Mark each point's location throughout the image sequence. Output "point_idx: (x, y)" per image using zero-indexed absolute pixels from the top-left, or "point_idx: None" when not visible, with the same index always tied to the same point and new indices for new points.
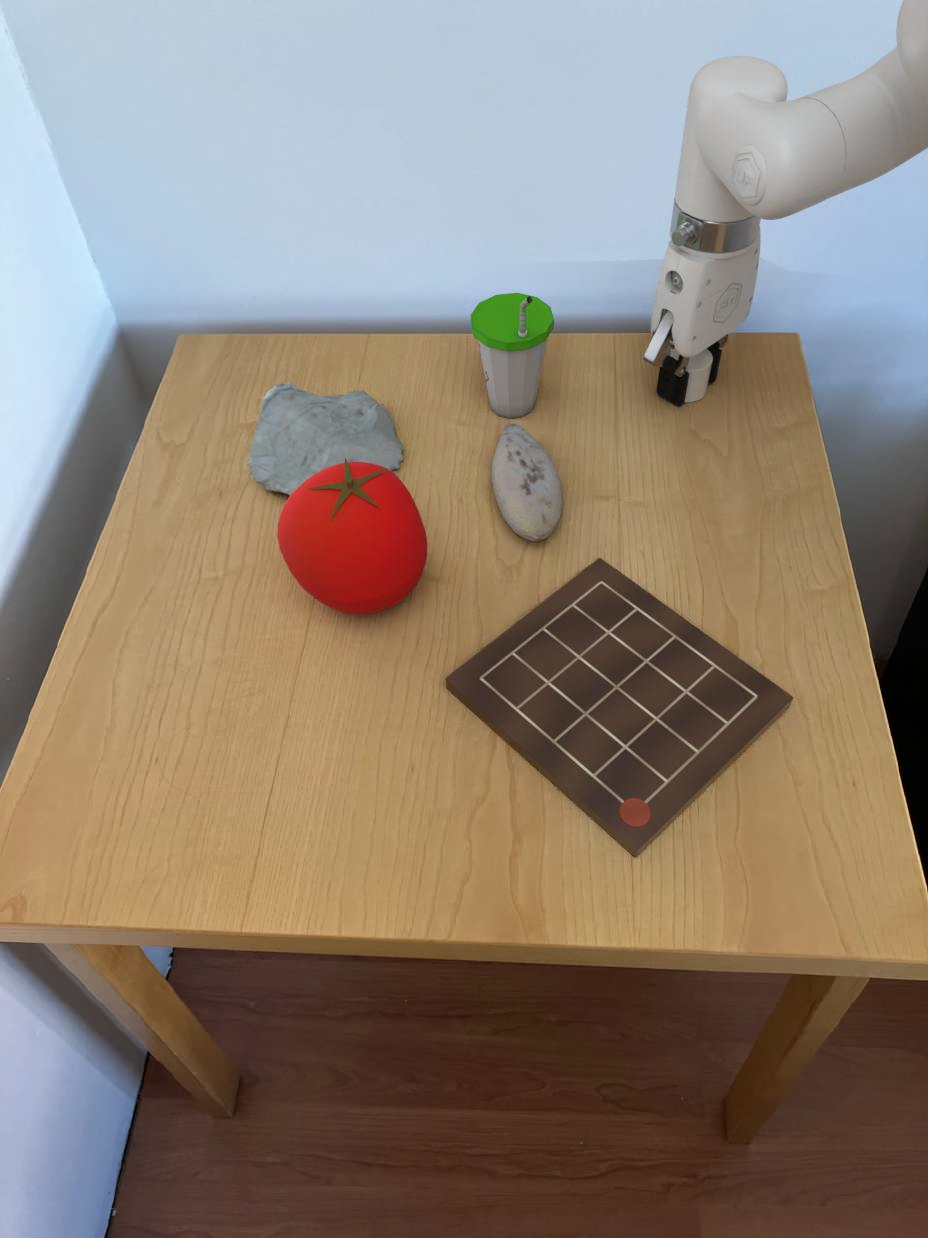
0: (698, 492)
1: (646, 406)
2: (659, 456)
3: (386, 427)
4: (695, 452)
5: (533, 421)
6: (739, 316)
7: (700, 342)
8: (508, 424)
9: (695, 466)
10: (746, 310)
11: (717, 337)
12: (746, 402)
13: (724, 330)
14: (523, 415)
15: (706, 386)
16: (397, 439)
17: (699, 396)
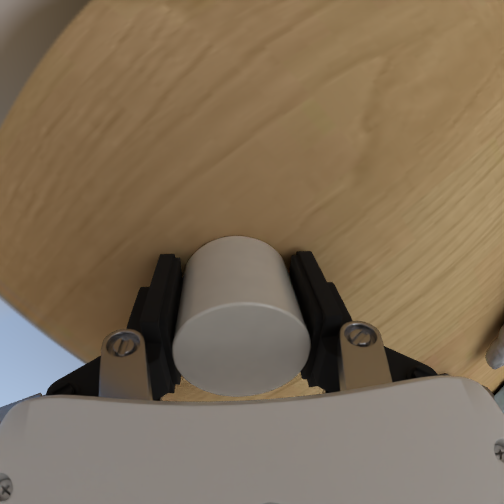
0: (488, 65)
1: (344, 298)
2: (457, 182)
3: (497, 403)
4: (414, 124)
5: (448, 362)
6: (85, 455)
7: (454, 428)
8: (496, 368)
9: (446, 102)
10: (29, 446)
11: (294, 422)
12: (156, 140)
13: (233, 442)
14: (445, 374)
15: (222, 252)
16: (500, 390)
17: (249, 241)
